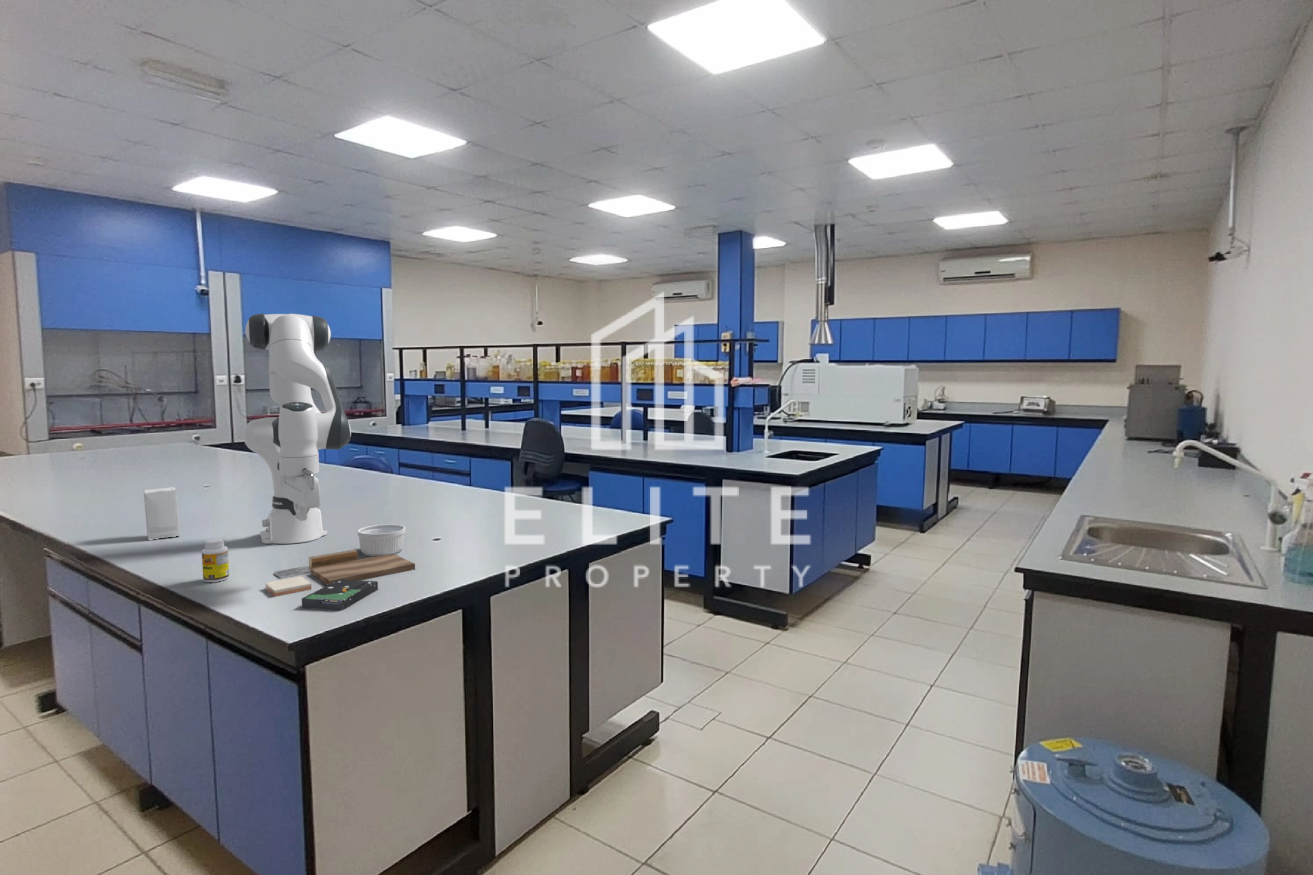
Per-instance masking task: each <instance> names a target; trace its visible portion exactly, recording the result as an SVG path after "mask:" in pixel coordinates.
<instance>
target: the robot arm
mask: <svg viewBox="0 0 1313 875" xmlns="http://www.w3.org/2000/svg"><path fill="white" fill-rule="evenodd" d="M244 332H245V336H246V339H247V340H248V342H249V345H250V346H251V347H252V348H254V349H258V350H261V351H262V350H263V351H265V350H269V351H268V353H269V361H268V362H269V363H268V370H269V371H268V376H269V378H268V379H269V396H270V398H271V399H272V400H273V401H274V402H275V403H277V404H279V405H280V408H279V416H278V417H275V416H274V417H268V416H267V417H263V418H258V419H253V420H252V419H251V420H249V422H248V423H246V426H245V427H244V430H243V435H242V436H243V440H244V441H243V442H244V444H245V445H246V447H247V448H248V449H249V450H251V451H252V452H253V453H256V455H258V456H259V457H261V459H263V460H264V462H266V464H267V466H268V468H269V469H270V472H271V477H272V485H273V486H272V487H273V496H272V500H271V507H272V508H271V511H270V513H269V514H268V516H267V518H265V519H262V521H261V522H262V523H261V526H262V528H266V529H265V530H262V531H259V536H260V539H261V540H260V541H261V544H263V545H264V544H266V545H267V544H279V545H280V544H283V545H284V544H285V545H286V544H297V543H299V544H300V543H305V542H306V543H307V542H312V541H314V540H318V539H319V538H321V537H322V536H326V535H328V531H327V530H326V529H325V530H324V529H323V521H322V511H321V509H319V508H320V507H321V500H322V499H321V488H320V482H319V479H318V477H317V476H315V474H318V473H320V457H319V456H320V454H319V450H341V449H342V448H343V447H345V446H346V445H347V444H348V443H349V442H350V441H351V438H352V437H351V436H352V428H351V424H350V422H349V419H348V417H347V415H346V412H345V410H344V408H343V405H342V401H341V399H340V395H339V392H338V389H337V386H336V384H335V380H334V378H333V375H332V372H331V370H330V368H329V367H328V366H327V365H326V364H325V363H322V362H321V361H320V360H319V359H318V358H317V355H316V354H317V352H320V351H323V350H325V349H326V348H327V347H328V346H329V343H330V340H331V337H332V336H331V335H332V332H331V327H330V326H329V324H328V321H327V320H326V319H325V318H324V317H321V316H318V315H312V316H311V315H307V314H299V313H269V314H265V313H256V314H252V315H251V316H249V318H248V321H247V322H246V325H245V330H244ZM311 389H313V390H315V391H316V392H317V393H318V394H320V396H321V399H322V403H323V406H324V410H325V412H321V410H320V409H319V408H318V407H317V406H316V404H315V402H314V400H313V396H312V390H311Z"/></svg>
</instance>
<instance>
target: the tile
mask: <svg viewBox="0 0 1313 875" xmlns="http://www.w3.org/2000/svg"><path fill="white" fill-rule="evenodd" d="M264 585H265V586H264V587H265V590H266V591H268V592H269V593H270V594H271V595H273V597H275V598H276V597H281V596H285V595H290V594H296V593H300V592H305V591H310V590H312V583H311V582H310V581H308V580H307V579H306V578H304V577H303V576H302V575H299V576H294V577H288V578H283V579H278V580H272V581H269V582H265V584H264Z"/></svg>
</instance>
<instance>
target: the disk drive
mask: <svg viewBox="0 0 1313 875" xmlns="http://www.w3.org/2000/svg"><path fill="white" fill-rule="evenodd" d="M378 582H379V581H377V580H356V581H353V582H350V581H348V580H345V579H344V580H343V579H340V580H337V581H335V582H333V583H331V584H330V585H327V584H326V586H323V587H322V588H320V589H318V590H316V591H314V592H312V593H310V594H307V595H306V596H304V597H302V598H301V608H302V609H314V608H315V609H316V610H329V611H330V610H331V611H332V610H333V611H345V610H346V609H348V608H350V607H351V606H353V605H355V604H356V603H358V602H360V601H361V600H363V599H365V598H367V597H369V596H370V595H372V594H374V593H375V592H377V591H378V590H379V583H378Z"/></svg>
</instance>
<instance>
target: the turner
mask: <svg viewBox="0 0 1313 875" xmlns="http://www.w3.org/2000/svg"><path fill="white" fill-rule="evenodd" d="M358 551H359V550H356V549H350V550H344V551H338V552H333V553H327V554H320V555H313V556H308V566H307V565H304V566H299V567H293V568H287V569H282V570H275V571H273V574H274V576H276V577H278V578H279V580H283V579H288V578H293V577H298V576H303V575H304V576H305V575H308V574H309V575H311V568H317V567H322V566H328V565H333V564H339V563H344V562H350V561H355V560H359V552H358Z"/></svg>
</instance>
